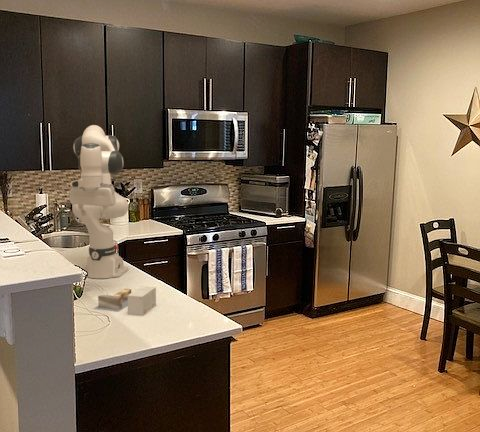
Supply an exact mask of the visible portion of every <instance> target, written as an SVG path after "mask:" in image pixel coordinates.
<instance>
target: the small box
mask: <svg viewBox="0 0 480 432" xmlns="http://www.w3.org/2000/svg"><path fill="white" fill-rule="evenodd" d="M156 292H157V287H155V286H144V285H141V286H140V287H138V288H137V289H134V290H133V291H131V294H129V295H128V306H127V315H133V316H134V315H135V316H142V317H143V316H144V315H146V314H147V313H148V312H150V311H151V310H152V309H153V308H154V307H156V306H157V293H156Z"/></svg>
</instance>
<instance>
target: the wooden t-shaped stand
mask: <svg viewBox="0 0 480 432" xmlns="http://www.w3.org/2000/svg"><path fill="white" fill-rule="evenodd" d="M131 293H132V289H131V288H123V289H122V290H120V291H118V292H116V293H115V294H113V295H109V294H102V293H101V294H99V295H98V297H97V299H98V301H97V304H98V305H97V306H98V307H101V308H109V309H117V310H119V309H121V308H122V302H124V301H126V300H128V295H129V294H131Z"/></svg>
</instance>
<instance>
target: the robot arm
mask: <svg viewBox="0 0 480 432" xmlns="http://www.w3.org/2000/svg"><path fill="white" fill-rule="evenodd" d="M72 147H73V152H74V154H75V157H77V160H78V161H77V163H78V164H77V167H78V170H80V171H81V173H80V178H79V179H76V180H74V181H73V180H72V181H70V183H69V185H70V187H71V188H70V190H69V202H70V204H71V205H72V206H71V207H72V208H71V211H72V213H73V216H75V217H76V218H78V219H79V220H81V222H82V223H83V224H84V226H86V229H87V232H88V236H89V237H88V238H89V247H88V254H89V256H88V257H87V263H86V271H87V272H88V276H87V277H88V278H91V279H97V280H98V279H110V278H120V277H121V276H122V275H123V274H125V273H126V272H128V270H129V267H128V266H125V265H124V260H123V258H122V257H121V256H120V255H118V254H117V251H116V250H118V249H119V246H118V245H114V232H113V229H112V228H111V227H110V226H107V225H105V224H103V223H101V221H100V220H101V219H117V218H121V217H122V218H123V217H125V215H126V214H127V213H128V209H129V204H128V200H127V199H126V198H125V197H124V196H122V195H120V194H119V193H117V192H116V190H115V188H116V187H114V185H113V184H112V177H111V175H118V174H119V173H120V172H122V170H123V168H124V157H123V155H122V153H121V152H120V151H119V150H120V142H119V140H118V139H117V137H116V135H110V134H109V135H106V133H105V131H104V129H103V128H102V127H101V126H99V125H98V124H97V125H96V124H92V125H89V126H87V127H86V128H85V129H84V131H83V134H82V135H80V136H79V137H77V138H76V139H75V140H74V142H73V146H72Z"/></svg>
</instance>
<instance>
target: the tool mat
mask: <svg viewBox="0 0 480 432" xmlns="http://www.w3.org/2000/svg"><path fill="white" fill-rule="evenodd" d="M125 308H128V300H126V301H124V302H122V308H121V309H119V310H117V309H109V308H101V307H98V305H97V306H95V307H94V308H93V309H94V310H101V311H106V312H107V311H109V312H117V313H119V312H121V311H122V310H124V309H125Z"/></svg>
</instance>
